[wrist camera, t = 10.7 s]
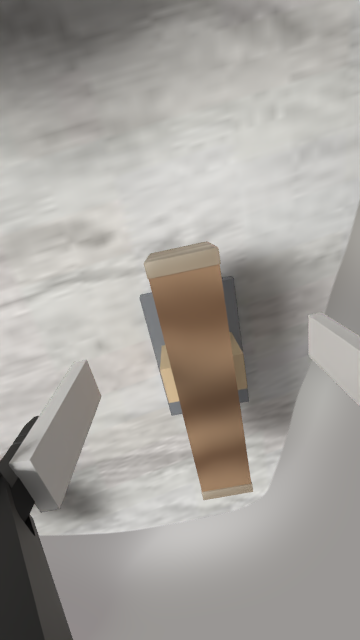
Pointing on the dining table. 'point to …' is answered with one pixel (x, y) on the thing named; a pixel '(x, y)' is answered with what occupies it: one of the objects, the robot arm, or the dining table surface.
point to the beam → (202, 363)
